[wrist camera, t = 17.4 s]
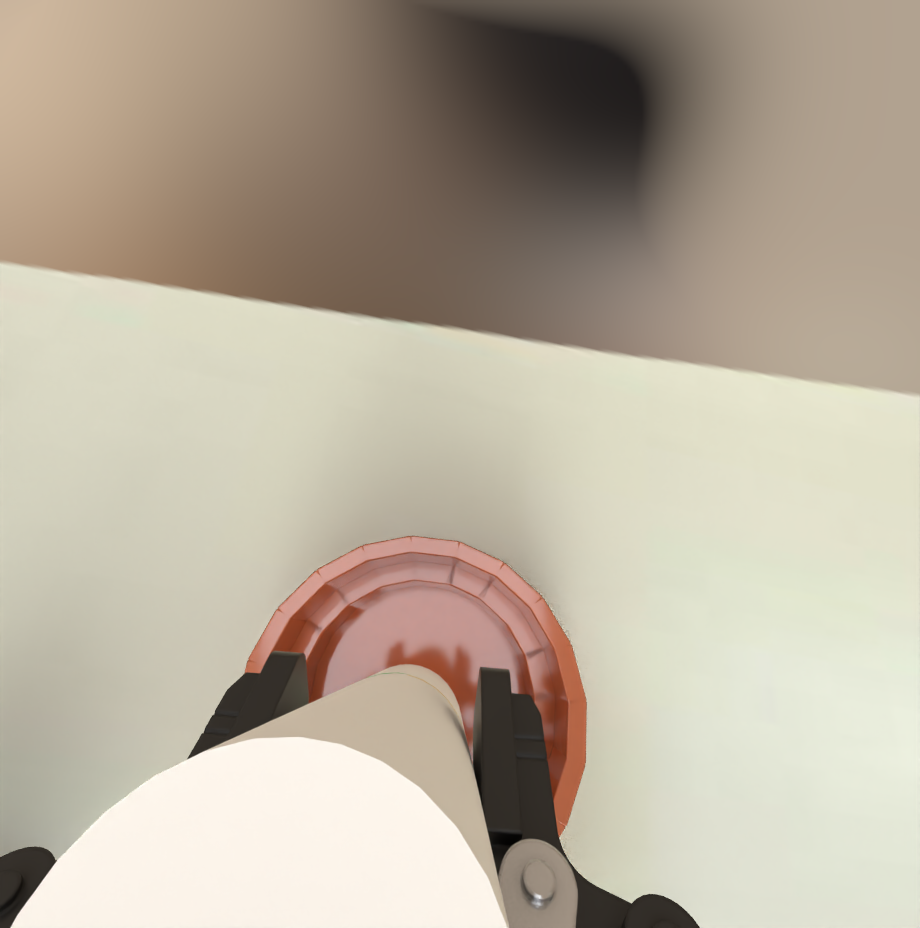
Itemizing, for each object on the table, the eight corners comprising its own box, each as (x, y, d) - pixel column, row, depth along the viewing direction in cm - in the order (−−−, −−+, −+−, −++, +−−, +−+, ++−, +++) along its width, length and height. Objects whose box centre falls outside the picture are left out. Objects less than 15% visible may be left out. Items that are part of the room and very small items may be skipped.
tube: (473, 680, 18) (573, 812, 4) (445, 808, 17) (449, 1718, 3) (368, 651, 18) (123, 680, 4) (331, 774, 17) (-234, 1431, 3)
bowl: (422, 942, 21) (414, 1051, 16) (224, 704, 24) (157, 724, 19) (608, 684, 25) (655, 697, 20) (417, 508, 29) (410, 476, 23)
